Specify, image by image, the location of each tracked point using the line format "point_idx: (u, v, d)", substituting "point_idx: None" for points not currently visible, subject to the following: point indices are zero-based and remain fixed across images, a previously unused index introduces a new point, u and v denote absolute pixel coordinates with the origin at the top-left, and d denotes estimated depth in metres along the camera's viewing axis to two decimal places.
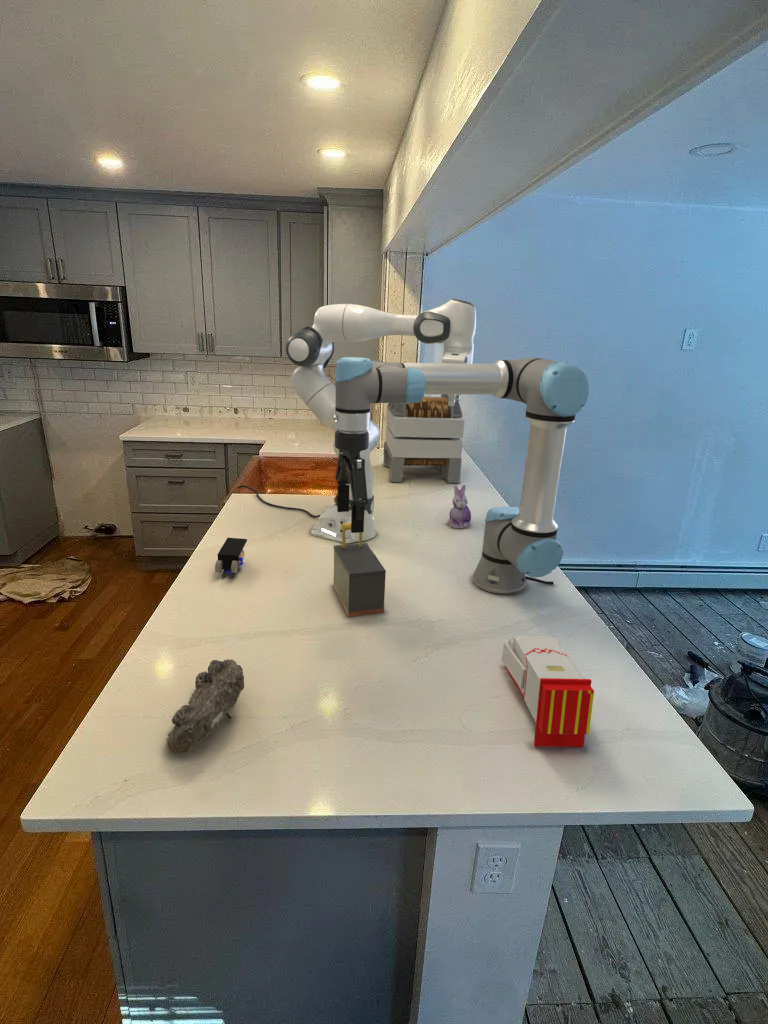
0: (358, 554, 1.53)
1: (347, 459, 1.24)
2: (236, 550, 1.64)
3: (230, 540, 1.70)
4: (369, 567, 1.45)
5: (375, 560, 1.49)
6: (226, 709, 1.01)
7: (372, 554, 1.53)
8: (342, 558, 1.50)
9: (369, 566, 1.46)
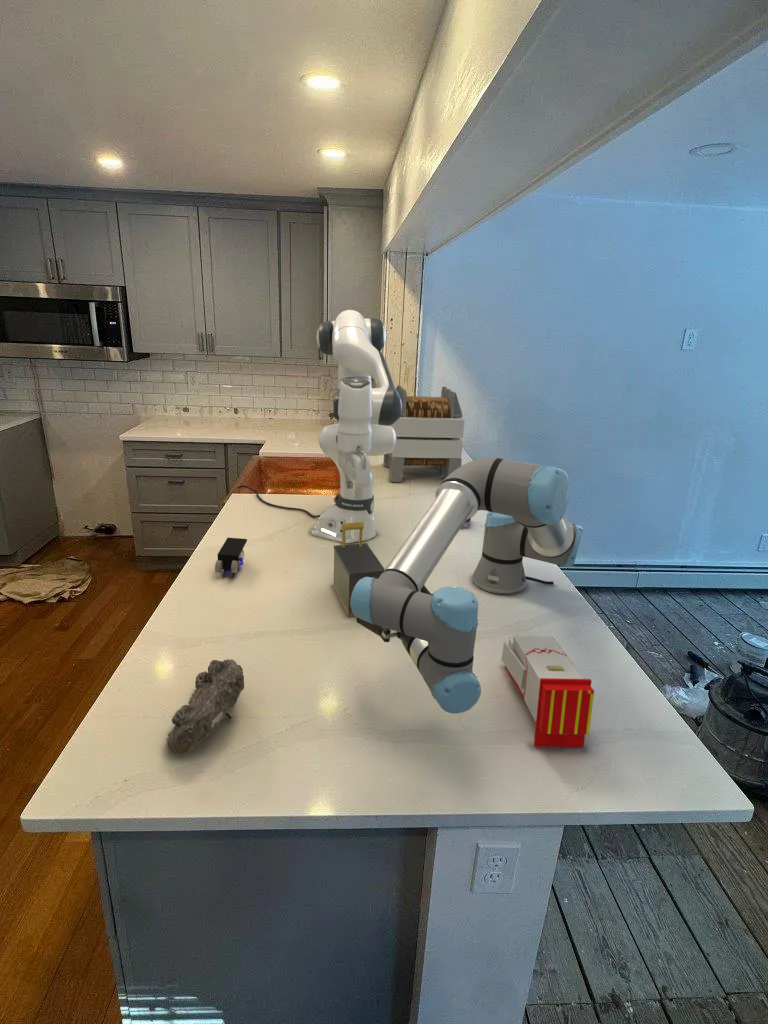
0: (358, 554, 1.53)
1: None
2: (236, 550, 1.64)
3: (230, 540, 1.70)
4: (369, 567, 1.45)
5: (375, 560, 1.49)
6: (226, 709, 1.01)
7: (372, 554, 1.53)
8: (342, 558, 1.50)
9: (369, 566, 1.46)
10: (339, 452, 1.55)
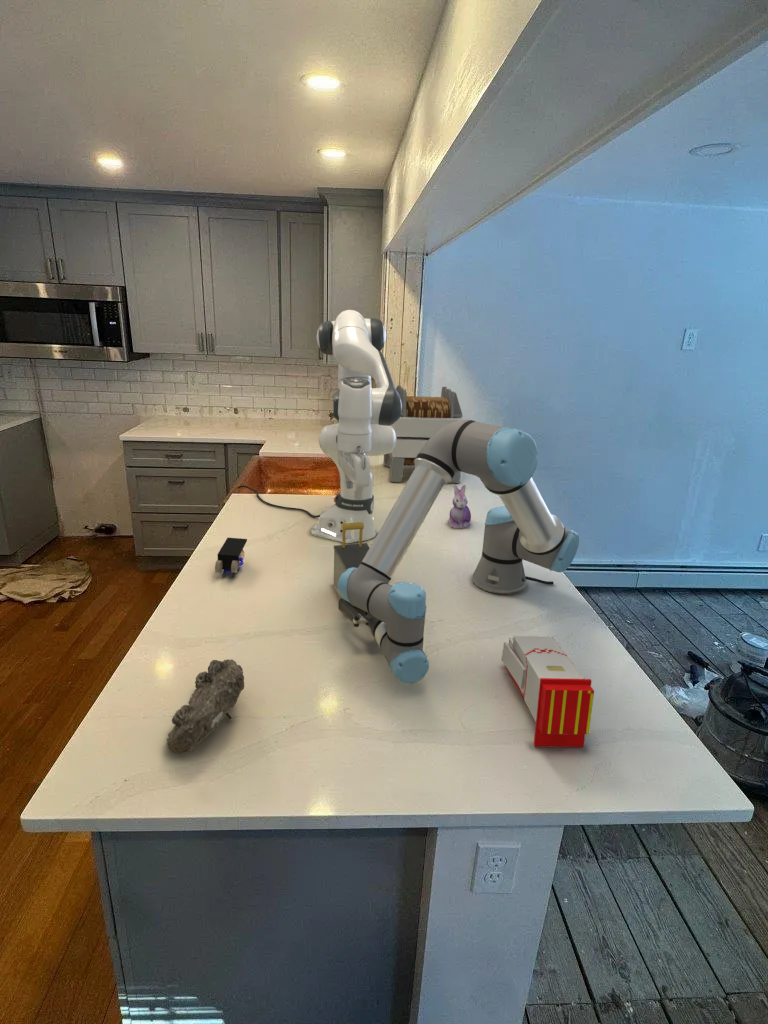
0: (358, 554, 1.53)
1: None
2: (236, 550, 1.64)
3: (230, 540, 1.70)
4: None
5: None
6: (226, 709, 1.01)
7: None
8: (342, 558, 1.50)
9: None
10: (339, 452, 1.55)
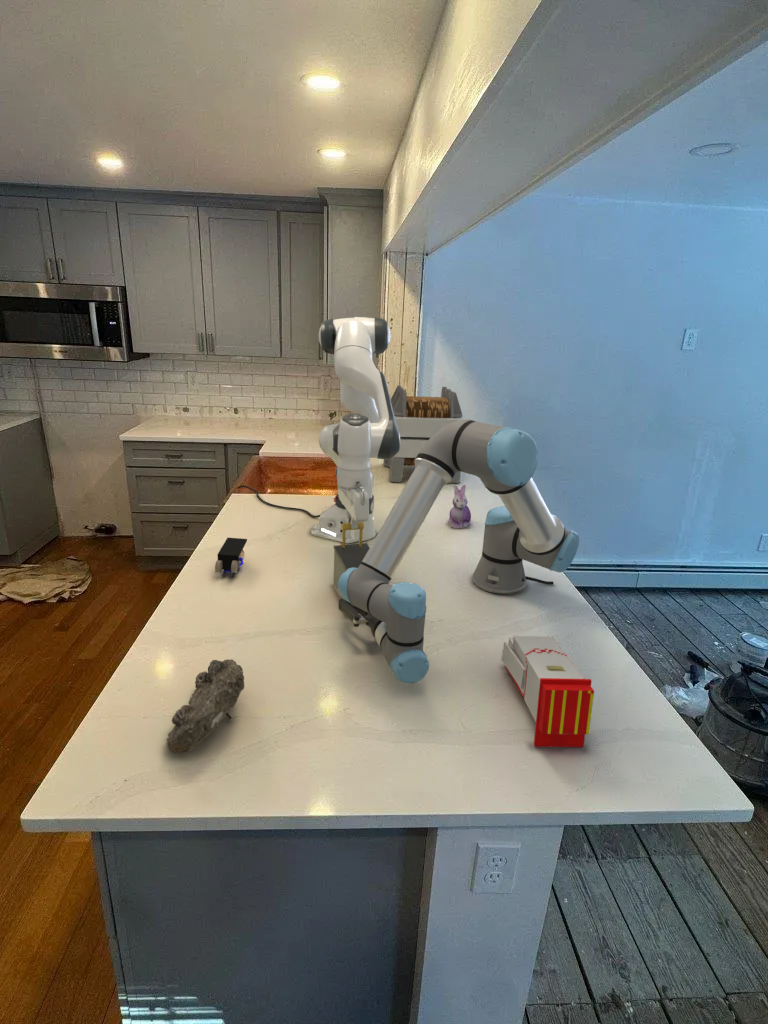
0: (358, 554, 1.53)
1: None
2: (236, 550, 1.64)
3: (230, 540, 1.70)
4: None
5: None
6: (226, 709, 1.01)
7: None
8: (342, 558, 1.50)
9: None
10: (338, 484, 1.58)
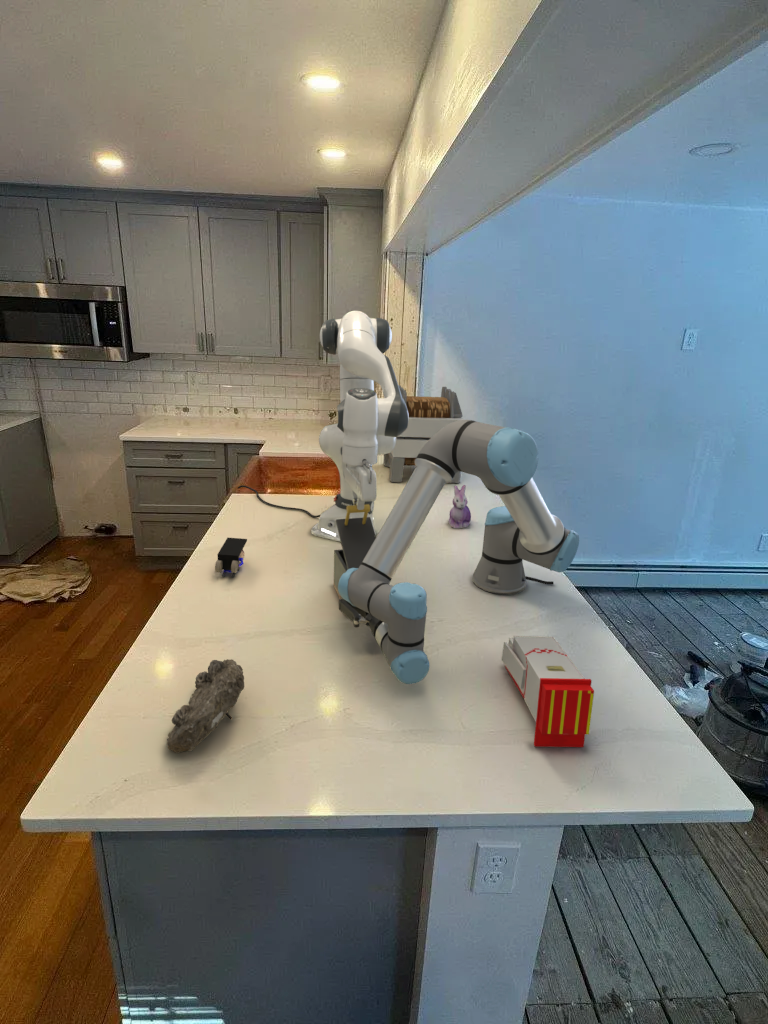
0: (361, 538, 1.49)
1: None
2: (236, 550, 1.64)
3: (230, 540, 1.70)
4: None
5: None
6: (226, 709, 1.01)
7: (374, 540, 1.50)
8: (344, 545, 1.47)
9: None
10: (343, 464, 1.50)
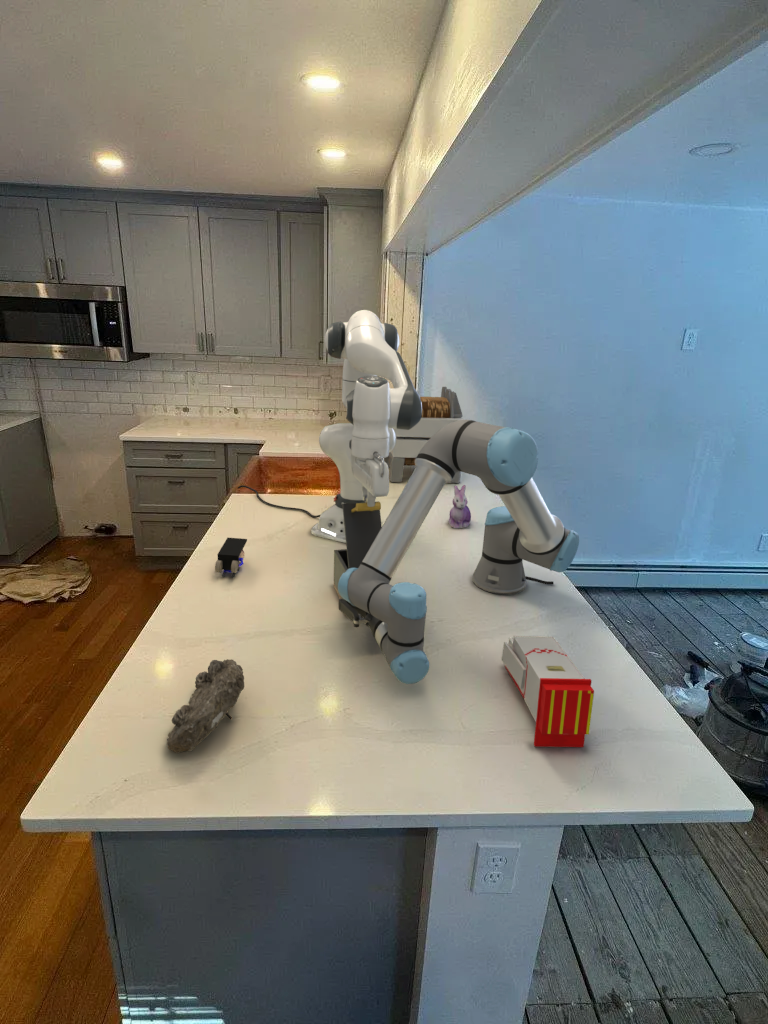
0: (366, 530, 1.44)
1: None
2: (236, 550, 1.64)
3: (230, 540, 1.70)
4: None
5: None
6: (226, 709, 1.01)
7: None
8: (348, 538, 1.42)
9: None
10: (352, 459, 1.41)
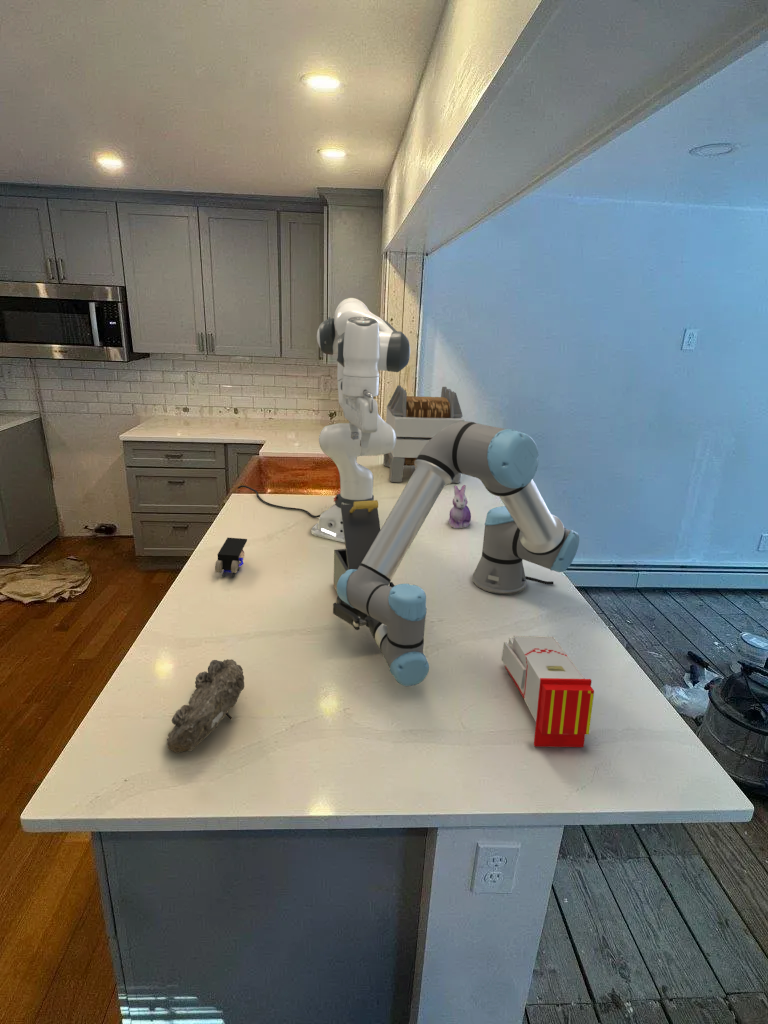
0: (364, 530, 1.45)
1: None
2: (236, 550, 1.64)
3: (230, 540, 1.70)
4: None
5: None
6: (226, 709, 1.01)
7: (378, 532, 1.46)
8: (347, 538, 1.43)
9: None
10: (344, 401, 1.46)
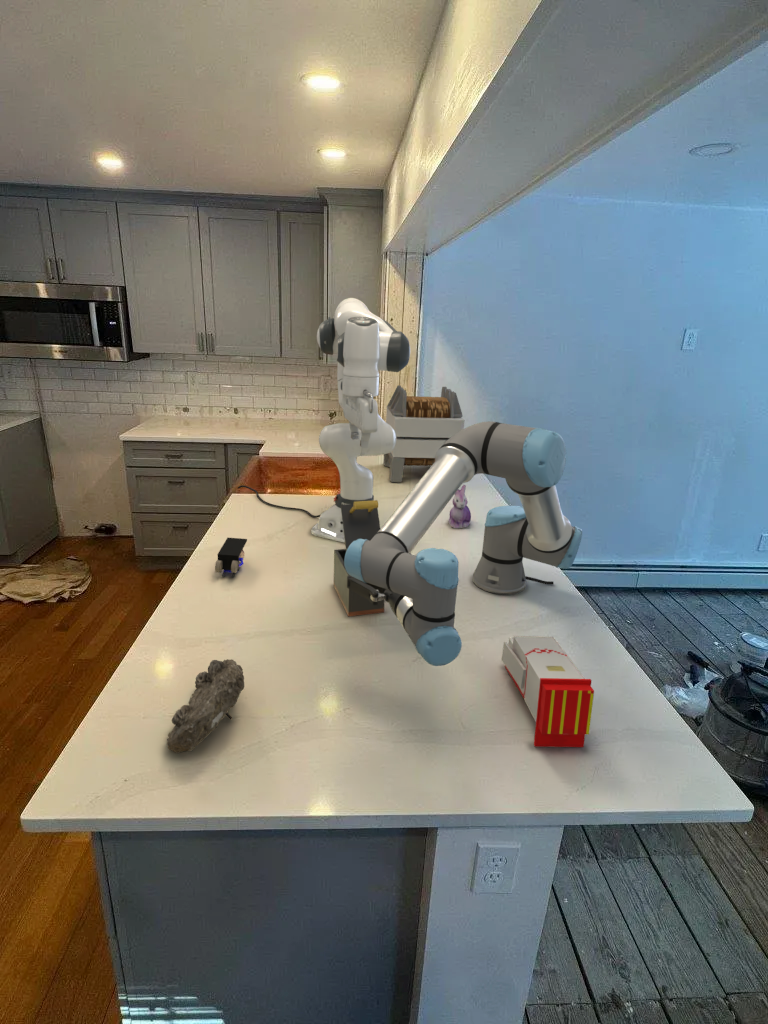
0: (364, 530, 1.45)
1: None
2: (236, 550, 1.64)
3: (230, 540, 1.70)
4: None
5: None
6: (226, 709, 1.01)
7: None
8: (347, 538, 1.43)
9: None
10: (344, 401, 1.46)
